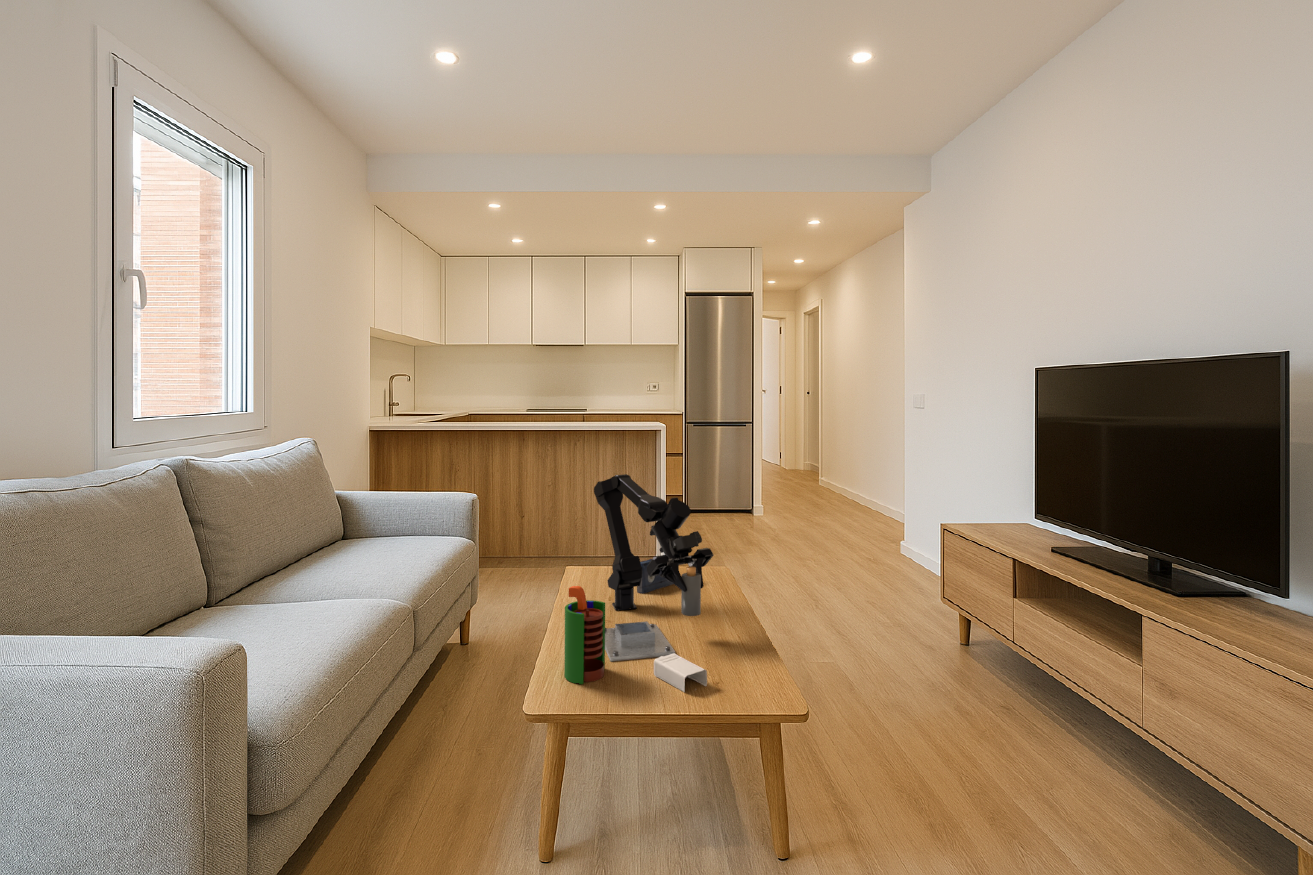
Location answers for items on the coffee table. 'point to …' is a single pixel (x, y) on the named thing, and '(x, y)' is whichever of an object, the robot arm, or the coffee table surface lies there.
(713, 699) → the coffee table surface
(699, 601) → the grey and orange piece
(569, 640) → the motor
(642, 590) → the vhs cassette tape
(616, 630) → the pump mount
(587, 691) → the coffee table surface
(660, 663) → the white plastic end cap
